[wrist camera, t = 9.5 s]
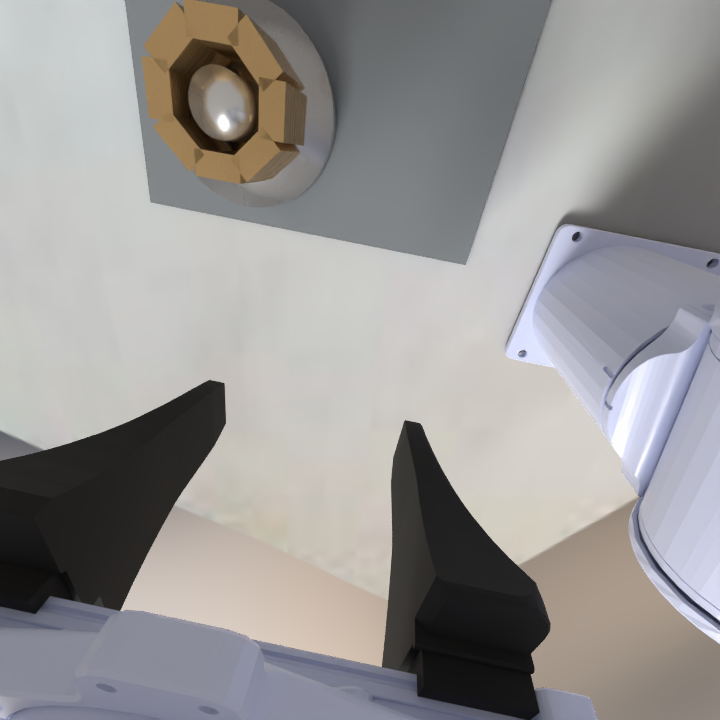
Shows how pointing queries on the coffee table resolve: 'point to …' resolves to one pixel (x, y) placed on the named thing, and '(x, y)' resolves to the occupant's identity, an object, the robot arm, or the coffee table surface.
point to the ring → (221, 46)
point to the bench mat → (384, 119)
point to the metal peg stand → (241, 108)
